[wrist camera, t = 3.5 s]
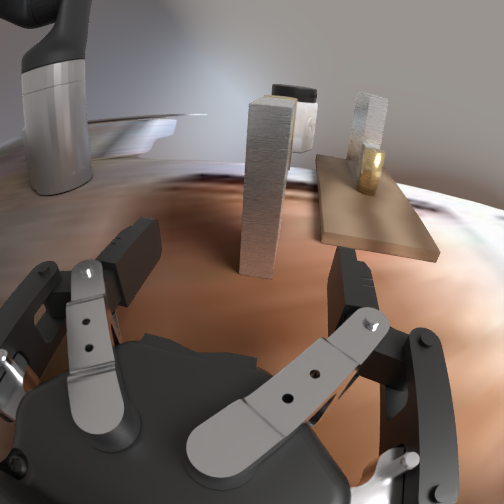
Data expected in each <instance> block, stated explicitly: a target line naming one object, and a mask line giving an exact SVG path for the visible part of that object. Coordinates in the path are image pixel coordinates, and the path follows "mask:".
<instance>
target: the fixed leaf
mask: <svg viewBox="0 0 504 504" xmlns="http://www.w3.org/2000/svg"><path fill="white" fill-rule="evenodd" d="M388 101H389V100H388V99H385V98H382V97H379V96H375V95H372V94H367V93H363V92H358V91H357V96H356V103H355V109H354V117H353V122H352V128H351V135H350V141H349V146H348V152H347V157H346V164H347V166H348V169H349V171H350V173H351V176H352V178H353V181H354V183H356V185H357V188H356V190H357V191H358V192H359V193H361V194H364V195H367V196H375V195H376V192H377V188H378V184H379V180H380V176H381V171H382V167H383V163H384V158H385V152H384V151H382V150H381V149H380V145H381V140H382V135H383V130H384V125H385V118H386V113H387V107H388Z"/></svg>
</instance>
